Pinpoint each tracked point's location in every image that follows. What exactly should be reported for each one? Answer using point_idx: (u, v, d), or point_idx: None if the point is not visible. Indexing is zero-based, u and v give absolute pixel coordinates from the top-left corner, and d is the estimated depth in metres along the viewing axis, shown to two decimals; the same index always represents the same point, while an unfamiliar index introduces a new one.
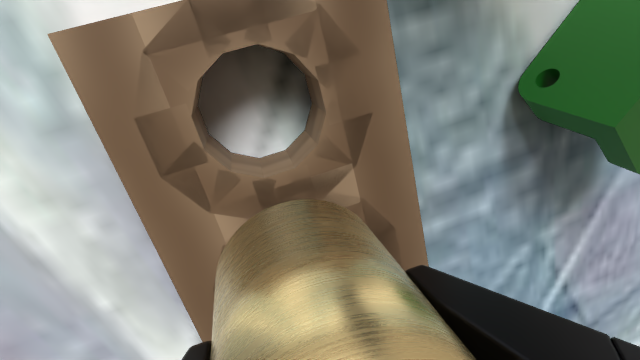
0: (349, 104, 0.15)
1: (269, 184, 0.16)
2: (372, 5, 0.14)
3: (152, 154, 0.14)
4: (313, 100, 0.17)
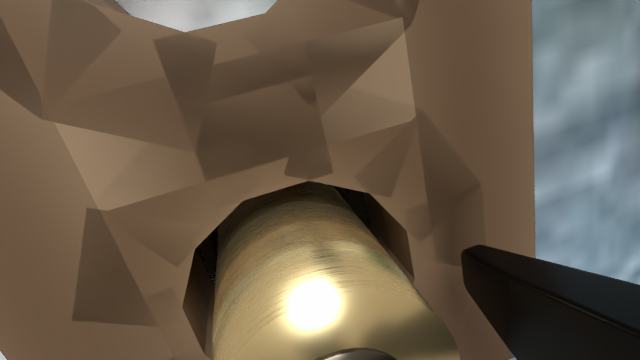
0: None
1: (198, 53, 0.06)
2: None
3: None
4: None
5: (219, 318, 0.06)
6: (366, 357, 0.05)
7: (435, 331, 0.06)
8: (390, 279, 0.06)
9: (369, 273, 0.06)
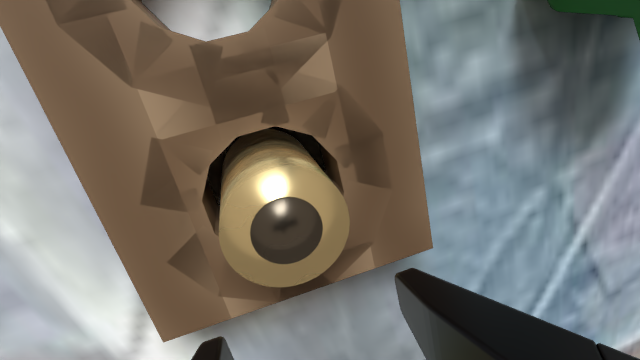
0: None
1: (212, 52, 0.12)
2: None
3: None
4: None
5: (224, 192, 0.12)
6: (296, 200, 0.11)
7: (332, 192, 0.11)
8: (310, 167, 0.11)
9: (300, 163, 0.11)
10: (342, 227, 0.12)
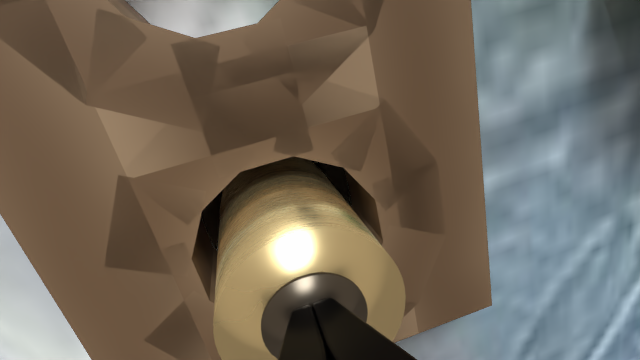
0: None
1: (206, 54, 0.08)
2: None
3: None
4: None
5: (222, 257, 0.08)
6: (330, 278, 0.07)
7: (383, 262, 0.07)
8: (350, 225, 0.07)
9: (334, 219, 0.07)
10: (394, 310, 0.08)
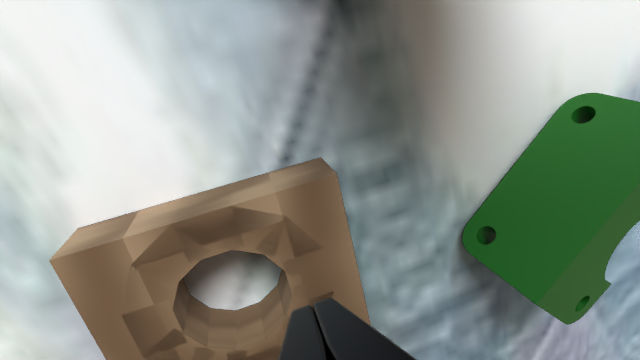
0: (313, 286, 0.18)
1: (241, 354, 0.18)
2: (332, 212, 0.17)
3: (137, 341, 0.16)
4: None
5: None
6: None
7: None
8: None
9: None
10: None
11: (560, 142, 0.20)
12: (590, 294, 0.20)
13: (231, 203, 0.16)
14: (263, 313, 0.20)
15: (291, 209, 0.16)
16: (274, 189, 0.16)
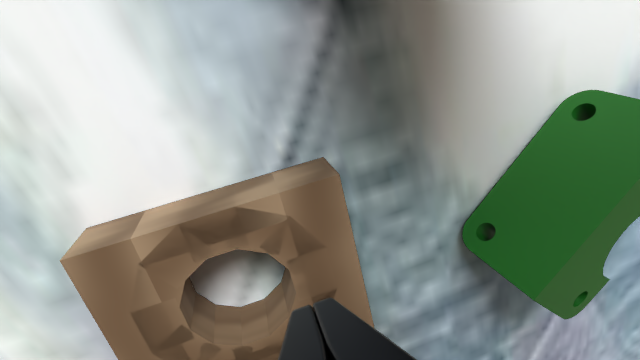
0: (316, 284, 0.18)
1: (246, 350, 0.18)
2: (334, 212, 0.17)
3: (145, 337, 0.17)
4: None
5: None
6: None
7: None
8: None
9: None
10: None
11: (560, 140, 0.20)
12: (588, 290, 0.20)
13: (236, 204, 0.16)
14: (267, 310, 0.20)
15: (294, 209, 0.16)
16: (278, 190, 0.16)
